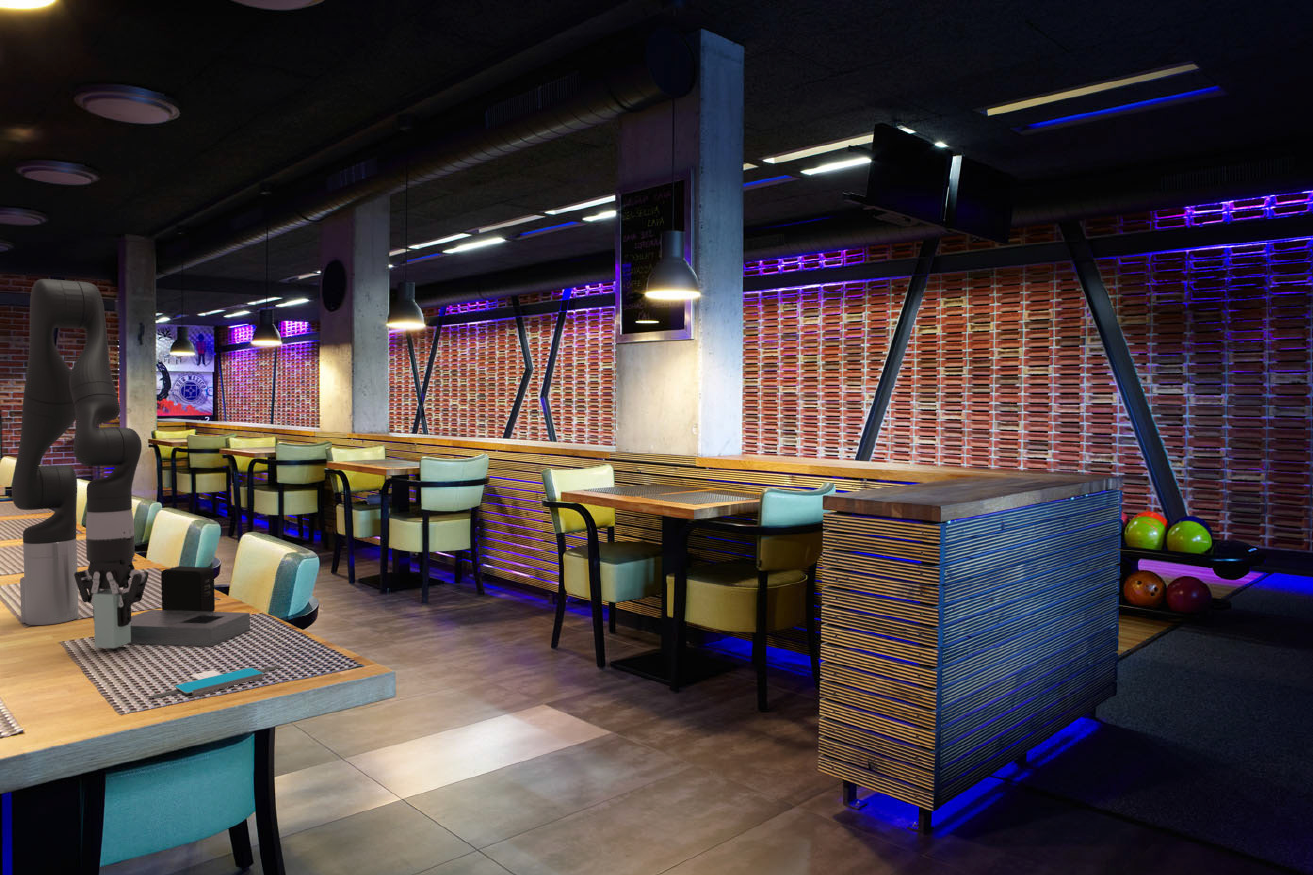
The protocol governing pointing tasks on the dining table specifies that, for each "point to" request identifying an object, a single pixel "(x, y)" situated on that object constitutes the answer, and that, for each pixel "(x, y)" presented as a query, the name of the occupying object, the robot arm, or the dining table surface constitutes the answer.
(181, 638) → the grey peg hole base
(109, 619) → the sage green square post
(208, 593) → the electronic device
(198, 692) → the teal bar with rods
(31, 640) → the dining table surface
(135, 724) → the dining table surface
